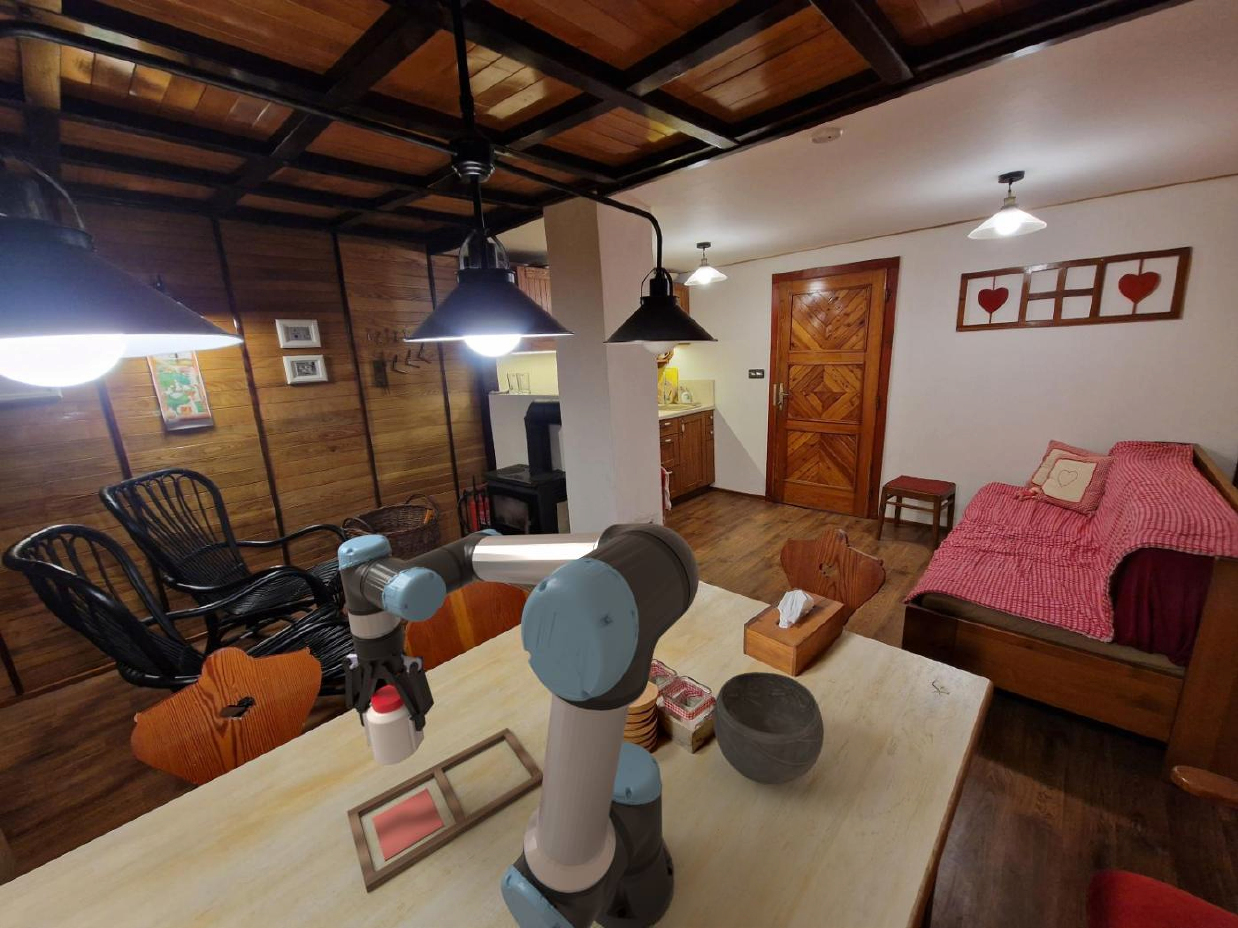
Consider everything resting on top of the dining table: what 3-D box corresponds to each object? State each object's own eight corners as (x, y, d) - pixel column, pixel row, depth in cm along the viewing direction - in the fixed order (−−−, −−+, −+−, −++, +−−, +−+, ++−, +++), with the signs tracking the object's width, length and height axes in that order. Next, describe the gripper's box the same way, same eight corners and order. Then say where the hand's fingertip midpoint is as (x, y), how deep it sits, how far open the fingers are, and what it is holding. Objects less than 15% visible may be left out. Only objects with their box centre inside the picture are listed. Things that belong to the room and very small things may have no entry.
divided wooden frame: (544, 781, 98) (544, 776, 98) (367, 892, 79) (365, 886, 79) (508, 731, 112) (507, 727, 111) (348, 816, 93) (347, 811, 92)
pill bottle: (403, 768, 83) (393, 712, 81) (363, 761, 85) (353, 707, 82) (429, 733, 90) (421, 681, 88) (392, 728, 92) (384, 677, 90)
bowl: (826, 744, 105) (830, 682, 101) (812, 829, 87) (817, 758, 83) (729, 713, 115) (730, 656, 111) (699, 783, 97) (699, 718, 93)
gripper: (445, 617, 84) (460, 730, 89) (336, 612, 87) (357, 721, 92) (422, 643, 77) (440, 764, 82) (304, 636, 80) (329, 753, 85)
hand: (396, 741), depth 87 cm, fingers closed on pill bottle, 8 cm apart
